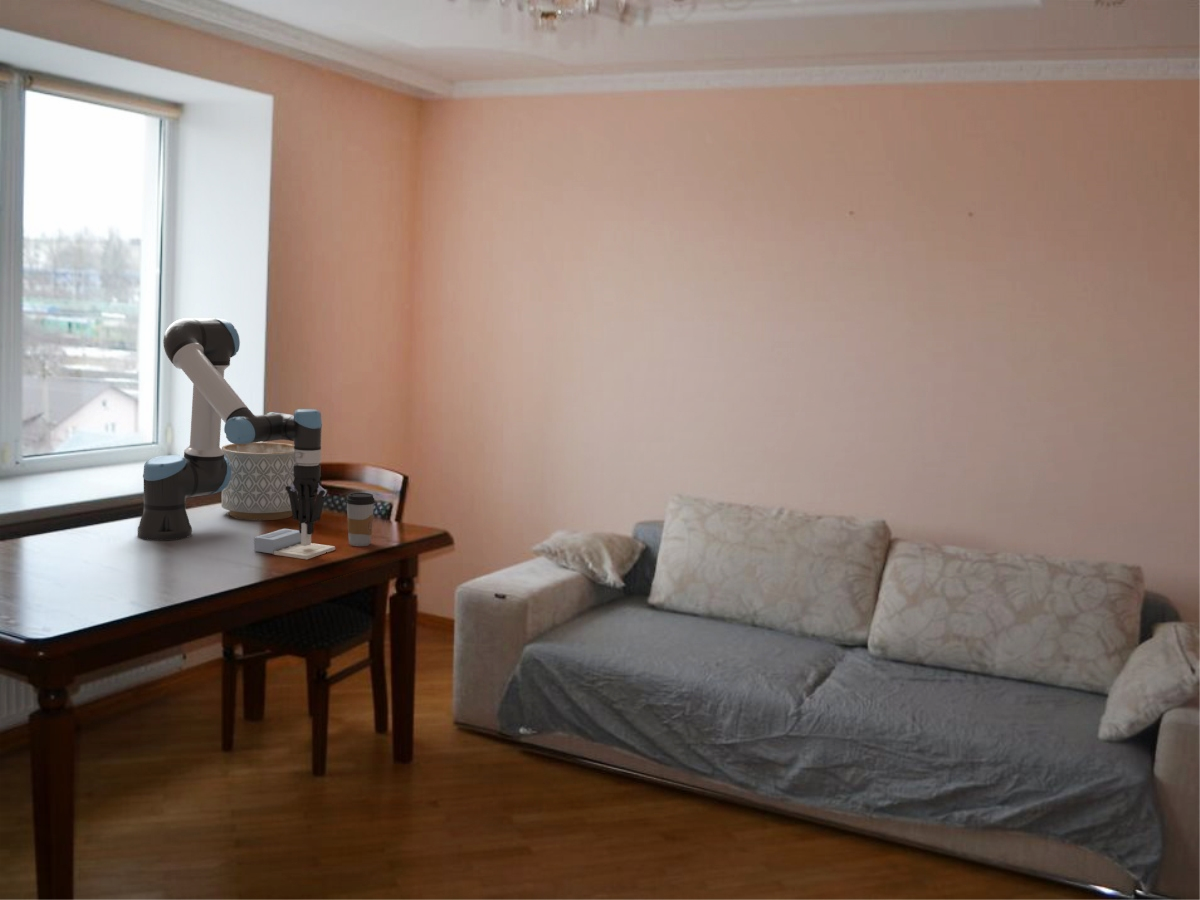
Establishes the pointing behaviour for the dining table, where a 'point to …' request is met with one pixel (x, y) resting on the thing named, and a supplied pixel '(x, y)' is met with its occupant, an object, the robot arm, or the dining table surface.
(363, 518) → the coffee cup
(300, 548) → the cream rectangular plate
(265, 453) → the planter
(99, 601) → the dining table surface
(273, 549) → the grey slotted block
